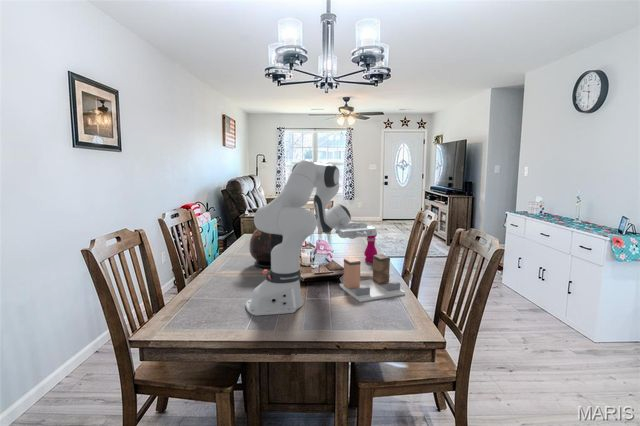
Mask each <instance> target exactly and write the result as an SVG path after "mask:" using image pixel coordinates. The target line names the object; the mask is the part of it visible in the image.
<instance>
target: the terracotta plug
mask: <svg viewBox="0 0 640 426" xmlns="http://www.w3.org/2000/svg"><path fill="white" fill-rule="evenodd" d="M361 265H362V261H361V260H360V259H358V258H356V257H354V256H353V257H345V258H343V283H344V285H345V286H346V287H348V288H349V289H352V288H359V287H360V281H361Z"/></svg>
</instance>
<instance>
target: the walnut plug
mask: <svg viewBox="0 0 640 426" xmlns="http://www.w3.org/2000/svg"><path fill="white" fill-rule="evenodd" d="M390 262H391V258H390V256H388V255H386V254H383V253H382V254H377V255H373V263H372V279H373V281H375V282H376V283H378V284H386V283H390V266H391V265H390V264H391V263H390Z"/></svg>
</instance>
